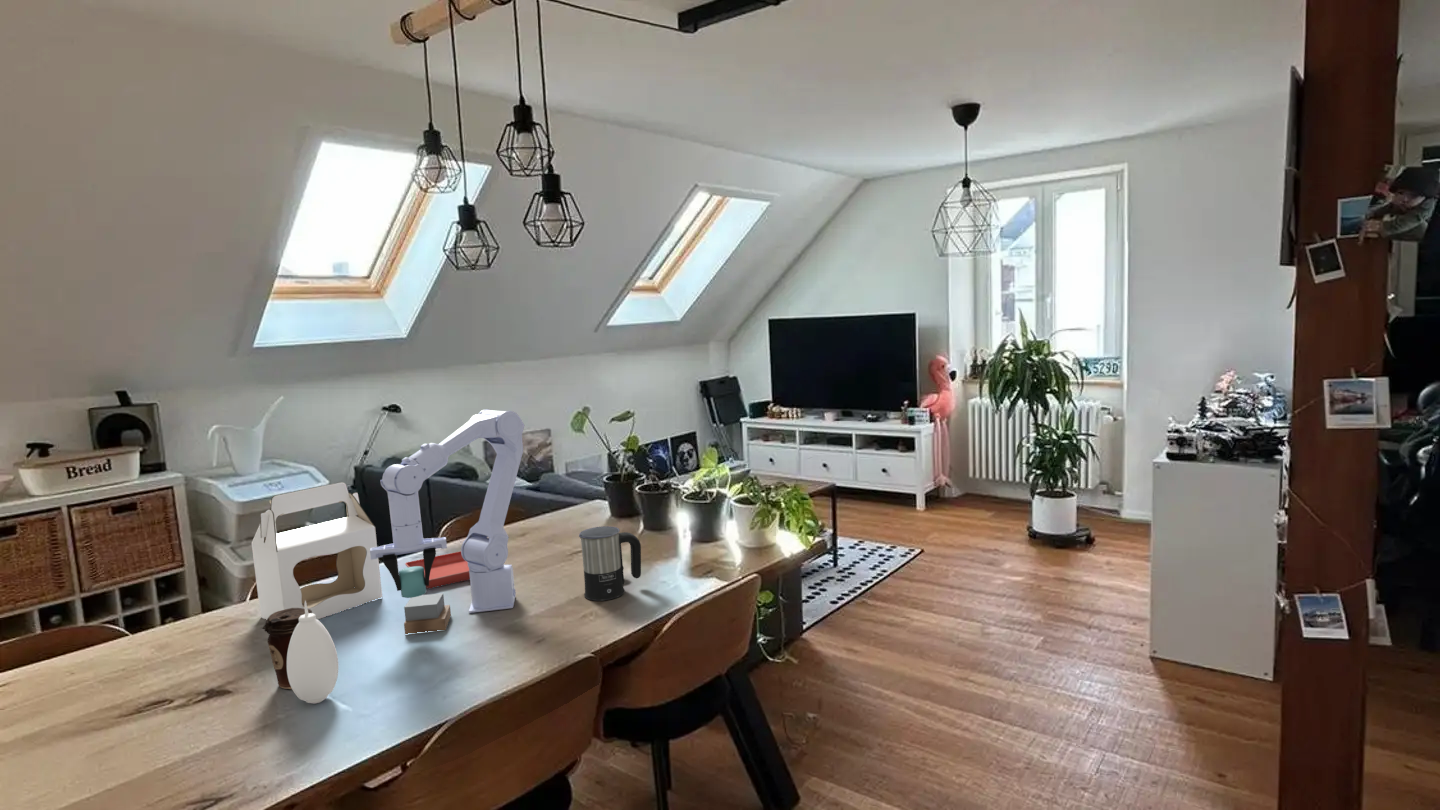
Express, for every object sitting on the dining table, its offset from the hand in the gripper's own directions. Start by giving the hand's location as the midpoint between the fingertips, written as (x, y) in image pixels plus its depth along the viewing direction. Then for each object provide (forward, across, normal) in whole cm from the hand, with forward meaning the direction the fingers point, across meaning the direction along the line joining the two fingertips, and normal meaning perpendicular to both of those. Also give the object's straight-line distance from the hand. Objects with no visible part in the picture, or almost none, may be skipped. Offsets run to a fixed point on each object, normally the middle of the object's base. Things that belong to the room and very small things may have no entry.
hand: (413, 586), depth 164 cm
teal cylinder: (+1, 0, 0) cm, 1 cm away
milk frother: (+10, -41, -7) cm, 43 cm away
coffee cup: (+10, +21, +14) cm, 27 cm away
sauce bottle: (+10, +16, +24) cm, 31 cm away
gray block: (+7, -2, -3) cm, 8 cm away
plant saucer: (+11, -8, -36) cm, 39 cm away
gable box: (+10, +20, -26) cm, 35 cm away
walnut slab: (+10, -2, -3) cm, 11 cm away
